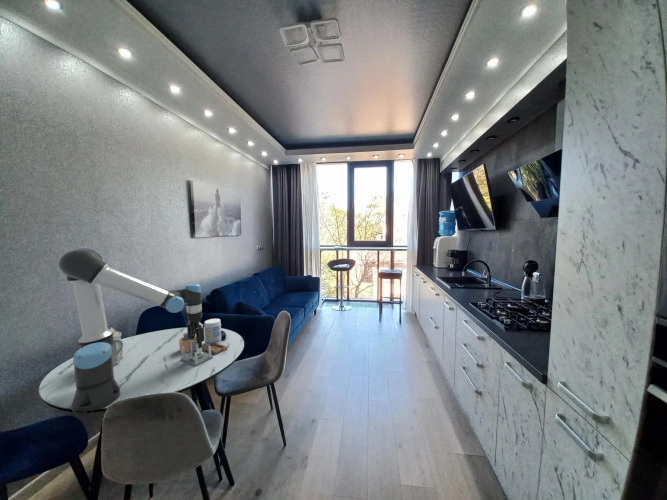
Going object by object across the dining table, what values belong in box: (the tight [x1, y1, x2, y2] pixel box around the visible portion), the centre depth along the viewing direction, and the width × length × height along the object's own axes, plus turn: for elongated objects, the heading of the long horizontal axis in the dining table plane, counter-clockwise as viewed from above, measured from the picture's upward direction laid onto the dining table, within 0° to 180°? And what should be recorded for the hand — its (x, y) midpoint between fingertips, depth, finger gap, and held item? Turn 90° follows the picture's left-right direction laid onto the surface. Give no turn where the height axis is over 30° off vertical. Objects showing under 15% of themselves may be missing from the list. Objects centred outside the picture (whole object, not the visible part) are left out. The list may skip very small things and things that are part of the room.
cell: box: [191, 336, 201, 356], centre depth 141 cm, size 5×5×10 cm
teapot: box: [108, 327, 124, 367], centre depth 137 cm, size 16×15×19 cm
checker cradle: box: [180, 346, 214, 367], centre depth 142 cm, size 10×14×7 cm
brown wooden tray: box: [202, 343, 228, 356], centre depth 153 cm, size 8×12×2 cm, turn 60°
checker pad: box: [189, 351, 205, 360], centre depth 142 cm, size 6×4×2 cm, turn 150°
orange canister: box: [178, 332, 192, 354], centre depth 153 cm, size 8×8×10 cm
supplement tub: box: [203, 318, 222, 346], centre depth 162 cm, size 10×10×15 cm
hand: (196, 351), depth 142 cm, fingers closed on cell, 4 cm apart
